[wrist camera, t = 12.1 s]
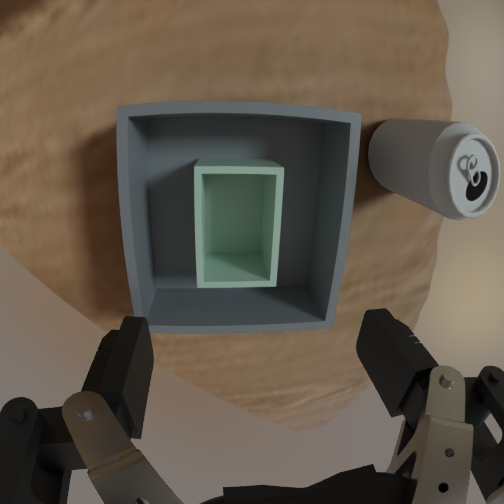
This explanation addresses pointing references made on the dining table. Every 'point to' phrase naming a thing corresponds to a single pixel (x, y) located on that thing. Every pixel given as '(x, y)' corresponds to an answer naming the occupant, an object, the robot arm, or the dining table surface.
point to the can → (436, 165)
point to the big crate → (183, 213)
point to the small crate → (237, 221)
